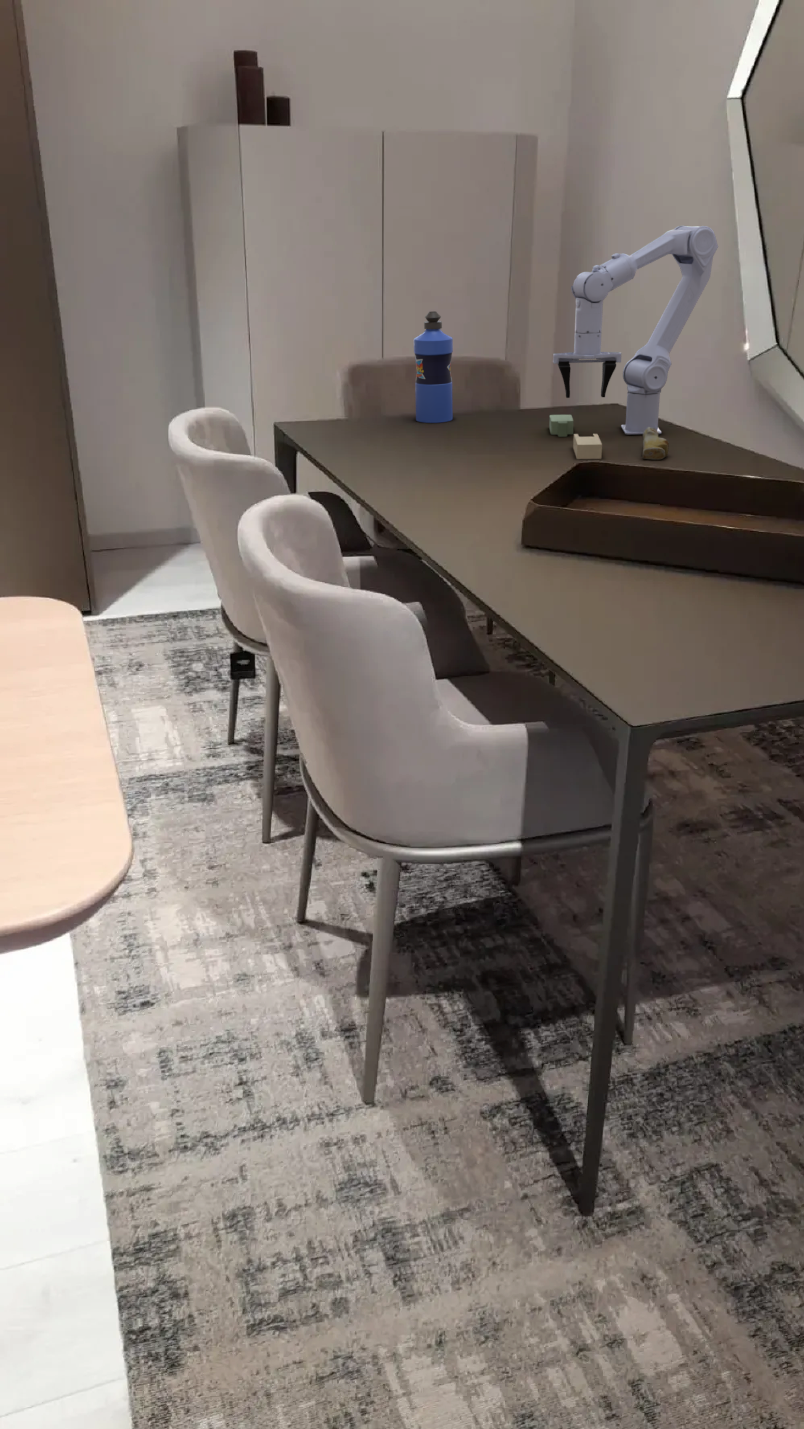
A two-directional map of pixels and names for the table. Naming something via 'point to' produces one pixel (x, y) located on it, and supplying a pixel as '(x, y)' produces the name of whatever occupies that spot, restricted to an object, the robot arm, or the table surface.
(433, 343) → the water bottle
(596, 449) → the cream pad
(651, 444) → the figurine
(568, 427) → the green notched block
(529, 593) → the table surface
